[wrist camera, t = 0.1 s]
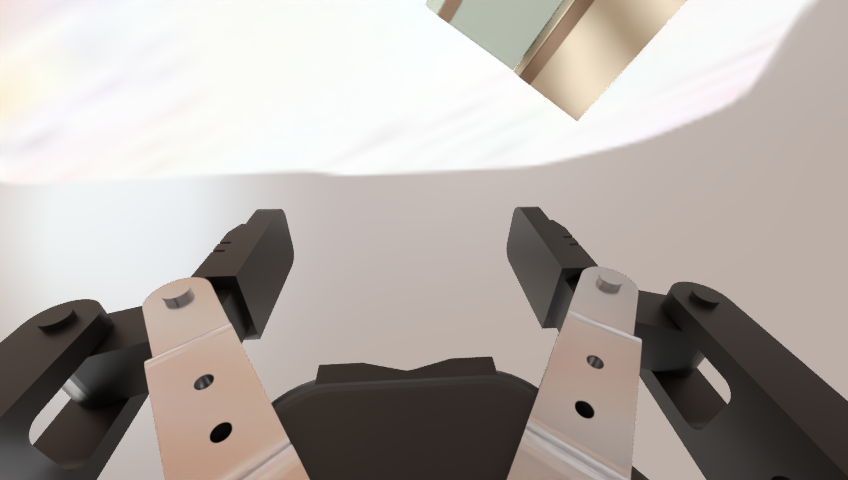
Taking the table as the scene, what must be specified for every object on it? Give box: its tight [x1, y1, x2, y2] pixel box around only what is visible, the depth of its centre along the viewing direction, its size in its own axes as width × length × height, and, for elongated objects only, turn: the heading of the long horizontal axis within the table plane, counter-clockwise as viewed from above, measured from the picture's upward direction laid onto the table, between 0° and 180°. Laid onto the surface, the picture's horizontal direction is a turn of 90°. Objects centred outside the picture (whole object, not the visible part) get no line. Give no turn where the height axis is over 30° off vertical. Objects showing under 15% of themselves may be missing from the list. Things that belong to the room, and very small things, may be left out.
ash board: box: [513, 0, 687, 121], centre depth 25 cm, size 16×8×2 cm, turn 148°
